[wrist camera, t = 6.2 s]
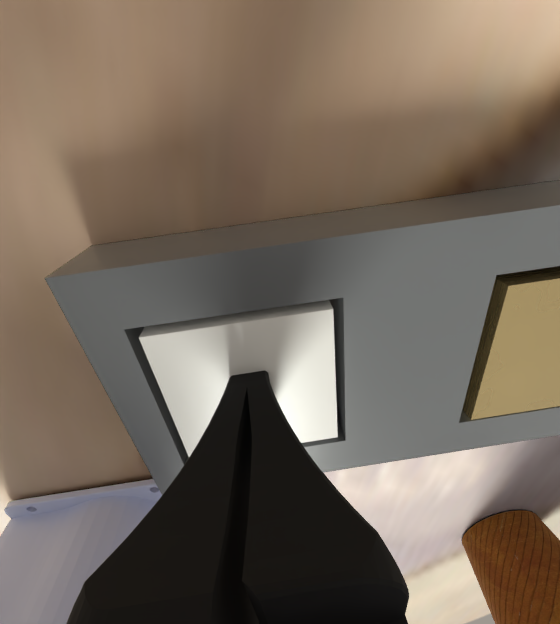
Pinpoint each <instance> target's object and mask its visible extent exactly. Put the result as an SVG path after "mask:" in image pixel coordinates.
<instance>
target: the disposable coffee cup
mask: <svg viewBox="0 0 560 624" xmlns="http://www.w3.org/2000/svg"><path fill="white" fill-rule="evenodd" d="M462 544H463V546H464V548H465V551H466V553H467V556H468V558H469V561H470V563H471V565H472V568H473V570H474V573H475V575H476V577H477V580H478V582H479V585H480V587H481V590H482V592H483V595H484V597H485V599H486V602H487V605H488V607H489V609H490V612H491V614H492V617H493V619H494V621H495V624H560V540H559V539H558V538H557V537H556V536H555V535H554V534H553V533H552V532H551V530H550V529H549V528H548V527H547V526H546V525H545V524H544V523H543V522H542V520H541V519H540V518H539V517H538V516H537V515H536V514H535V513H533V512H530V511H524V510H516V511H507V512H503V513H500V514H496V515H493V516H490V517H488V518H486V519H484V520H482V521H480V522H478V523H476V524H475V525H474V526H472V527H471V528H470V529H469V530H468V531H467V532H466V533H465V534H464V536H463V538H462Z"/></svg>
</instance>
